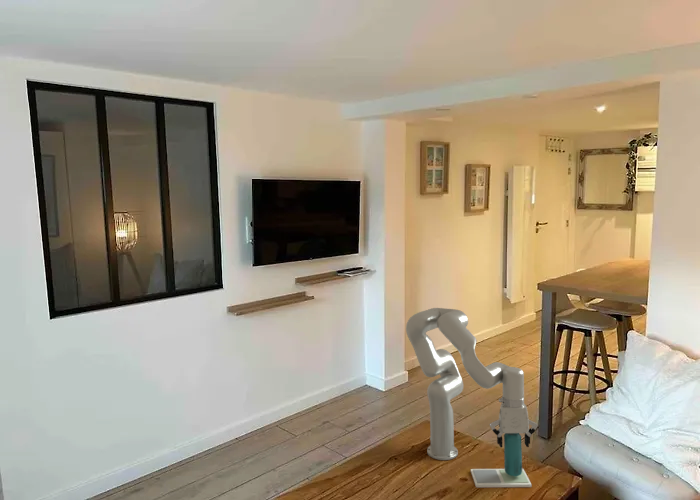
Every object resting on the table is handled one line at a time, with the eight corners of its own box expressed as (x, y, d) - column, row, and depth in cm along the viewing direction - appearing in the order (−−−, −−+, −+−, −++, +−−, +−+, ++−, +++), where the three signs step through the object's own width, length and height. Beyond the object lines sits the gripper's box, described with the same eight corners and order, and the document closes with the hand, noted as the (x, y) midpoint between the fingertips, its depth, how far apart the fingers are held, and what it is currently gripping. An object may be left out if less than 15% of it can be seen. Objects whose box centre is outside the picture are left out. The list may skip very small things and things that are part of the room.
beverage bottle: (523, 480, 191) (523, 428, 189) (504, 479, 192) (504, 427, 190) (521, 471, 197) (520, 421, 195) (503, 470, 198) (502, 420, 196)
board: (476, 487, 190) (476, 484, 190) (470, 471, 201) (470, 468, 201) (531, 487, 189) (531, 483, 189) (523, 471, 200) (523, 467, 200)
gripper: (491, 405, 188) (492, 450, 190) (540, 405, 187) (540, 450, 189) (487, 397, 196) (487, 441, 198) (534, 397, 195) (534, 440, 197)
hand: (513, 445), depth 193 cm, fingers open, 9 cm apart
